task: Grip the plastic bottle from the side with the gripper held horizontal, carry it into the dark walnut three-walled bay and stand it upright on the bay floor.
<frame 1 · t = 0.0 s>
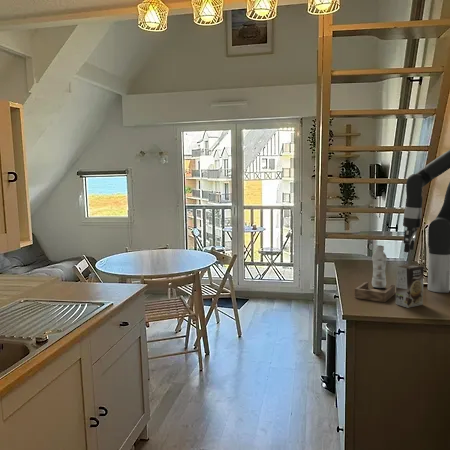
hand: (408, 250, 205), 17 cm above the countertop, tool pointing down, fingers open, 8 cm apart
coffee box: (409, 305, 178), on the countertop
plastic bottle: (378, 288, 205), on the countertop
walnut bay: (374, 295, 192), on the countertop
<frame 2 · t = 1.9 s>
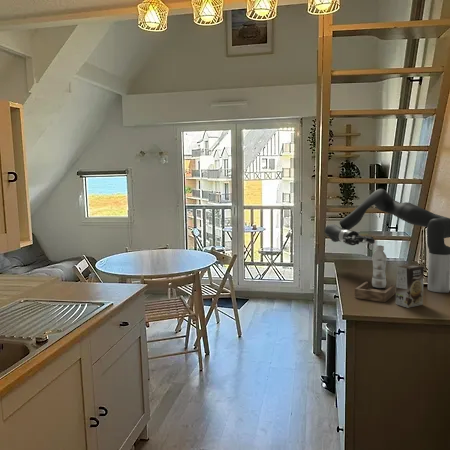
hand: (366, 241, 213), 20 cm above the countertop, tool horizontal, fingers open, 8 cm apart
nothing on the countertop moved.
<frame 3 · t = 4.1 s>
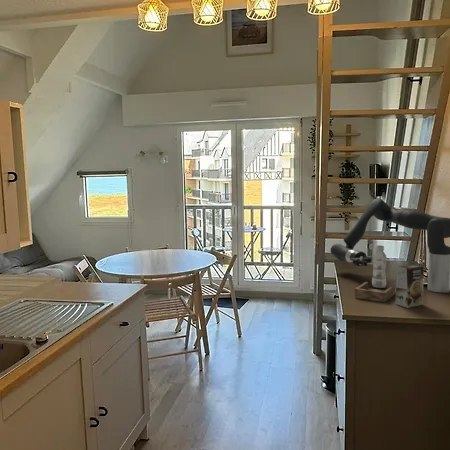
hand: (374, 263, 207), 11 cm above the countertop, tool horizontal, fingers open, 8 cm apart
nothing on the countertop moved.
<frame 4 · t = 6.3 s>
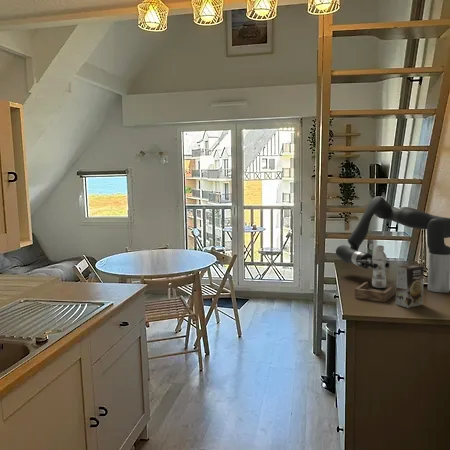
hand: (382, 265, 201), 11 cm above the countertop, tool horizontal, fingers closed on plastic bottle, 6 cm apart
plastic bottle: (378, 288, 205), on the countertop, touching gripper
everything else where it was.
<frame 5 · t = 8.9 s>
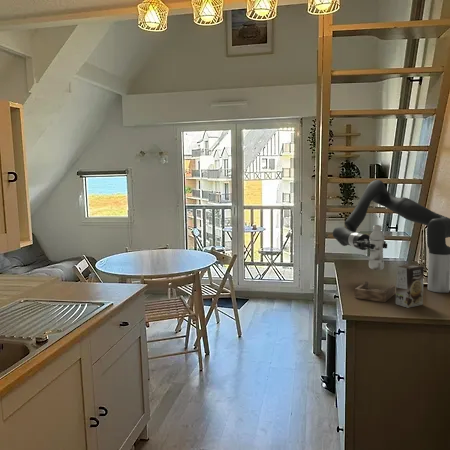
hand: (379, 246, 191), 22 cm above the countertop, tool horizontal, fingers closed on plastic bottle, 6 cm apart
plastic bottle: (376, 270, 195), point 11 cm above the countertop, touching gripper
everything else where it was.
when the fingers open (13 cm above the countertop, at t = 11.9 s): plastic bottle drops 1 cm, resting on walnut bay.
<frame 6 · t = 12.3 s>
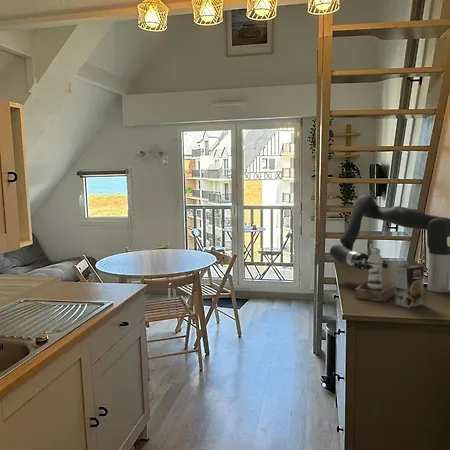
hand: (378, 266, 188), 14 cm above the countertop, tool horizontal, fingers open, 8 cm apart
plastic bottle: (374, 293, 192), point 1 cm above the countertop, touching walnut bay
everything else where it was.
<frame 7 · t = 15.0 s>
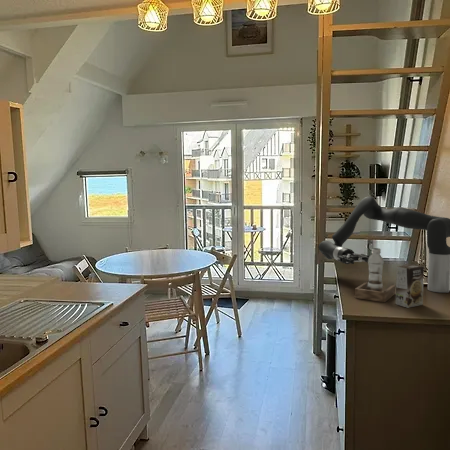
hand: (361, 261, 201), 14 cm above the countertop, tool horizontal, fingers open, 8 cm apart
nothing on the countertop moved.
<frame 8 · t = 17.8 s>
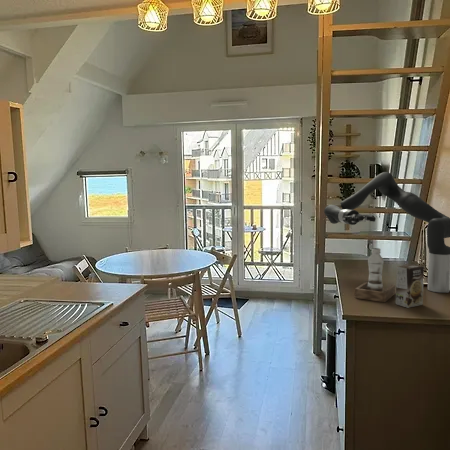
hand: (366, 219, 206), 32 cm above the countertop, tool horizontal, fingers open, 8 cm apart
nothing on the countertop moved.
at the end: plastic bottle inside the target area on the walnut bay (0.1 cm from its centre), point 0.8 cm above the walnut bay's base; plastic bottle tilted 0°; the gripper is holding nothing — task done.
